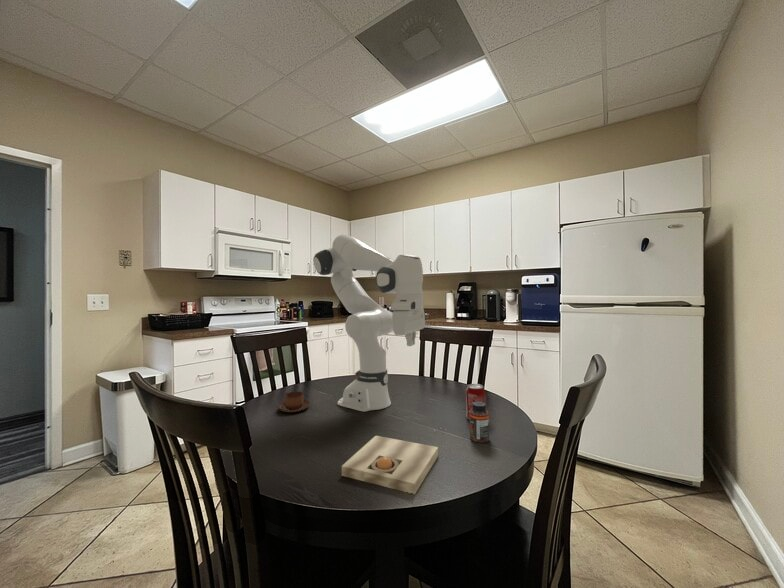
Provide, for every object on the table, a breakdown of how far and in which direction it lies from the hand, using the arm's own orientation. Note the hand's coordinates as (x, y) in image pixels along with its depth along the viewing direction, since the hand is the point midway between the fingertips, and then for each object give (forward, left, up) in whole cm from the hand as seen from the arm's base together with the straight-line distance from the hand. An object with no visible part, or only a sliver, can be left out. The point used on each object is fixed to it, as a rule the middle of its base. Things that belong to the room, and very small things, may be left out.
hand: (410, 345), depth 108 cm
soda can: (+17, +20, -29) cm, 39 cm away
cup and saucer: (-53, +3, -30) cm, 60 cm away
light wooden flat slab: (+2, -20, -29) cm, 36 cm away
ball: (+2, -25, -27) cm, 37 cm away
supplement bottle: (+21, +4, -29) cm, 36 cm away
